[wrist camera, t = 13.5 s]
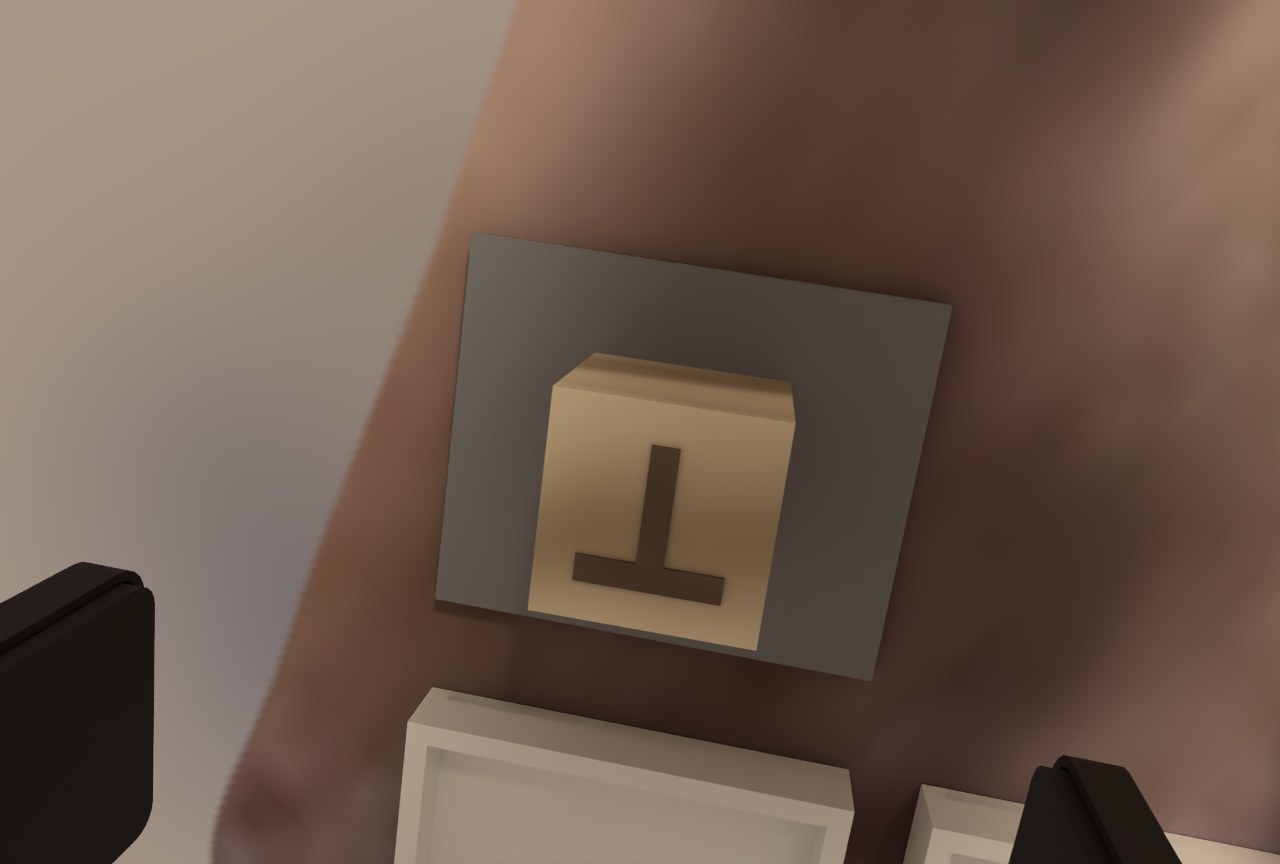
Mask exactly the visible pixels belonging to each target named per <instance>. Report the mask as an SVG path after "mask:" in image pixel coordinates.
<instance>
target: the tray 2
mask: <svg viewBox="0 0 1280 864" xmlns="http://www.w3.org/2000/svg"><path fill="white" fill-rule="evenodd" d="M1024 805H1025V804H1021V803H1015V802H1010V801H1005V800H1000V799H995V798H990V797H985V796H980V795H975V794H970V793H965V792H960V791H955V790H950V789H945V788H940V787H935V786H930V785H925V784H921V788H920V793H919V797H918V801H917V805H916V810H915V814H914V818H913V822H912V827H911V831H910V835H909V839H908V844H907V848H906V852H905V856H904V861H903V864H1008V863H1009V859H1010V856H1011V852H1012V849H1013V845H1014V841H1015V838H1016V834H1017V831H1018V827H1019V823H1020V820H1021V816H1022V812H1023V809H1024ZM1164 833H1165V835H1166V837H1167V838H1168V840H1169V842H1170V844H1171V845H1172V847H1173V849H1174V850H1175V852H1176V854H1177V856H1178V857H1179V859H1180V861H1181V862H1182V864H1280V855H1278V854H1273V853H1268V852H1263V851H1258V850H1253V849H1248V848H1243V847H1238V846H1233V845H1228V844H1222V843H1217V842H1212V841H1207V840H1202V839H1197V838H1192V837H1187V836H1182V835H1177V834H1172V833H1167V832H1164Z"/></svg>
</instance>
